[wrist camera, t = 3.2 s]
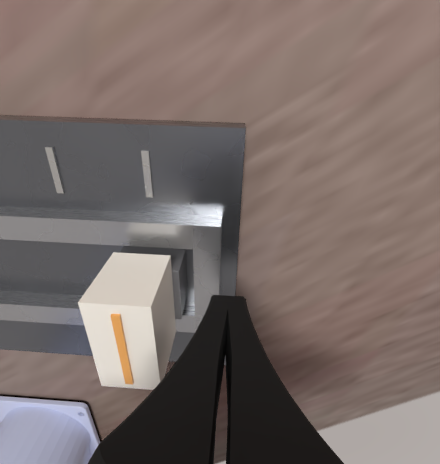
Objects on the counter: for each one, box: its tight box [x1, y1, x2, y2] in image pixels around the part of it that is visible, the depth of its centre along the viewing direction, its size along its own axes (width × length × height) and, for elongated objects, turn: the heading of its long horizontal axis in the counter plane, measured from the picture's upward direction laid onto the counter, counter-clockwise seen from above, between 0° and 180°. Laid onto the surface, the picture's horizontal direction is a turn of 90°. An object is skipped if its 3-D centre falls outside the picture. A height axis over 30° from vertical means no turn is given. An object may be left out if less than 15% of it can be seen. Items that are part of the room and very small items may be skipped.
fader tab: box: [78, 246, 188, 390], centre depth 12 cm, size 4×3×5 cm
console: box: [0, 115, 246, 365], centre depth 15 cm, size 14×22×2 cm, turn 89°
